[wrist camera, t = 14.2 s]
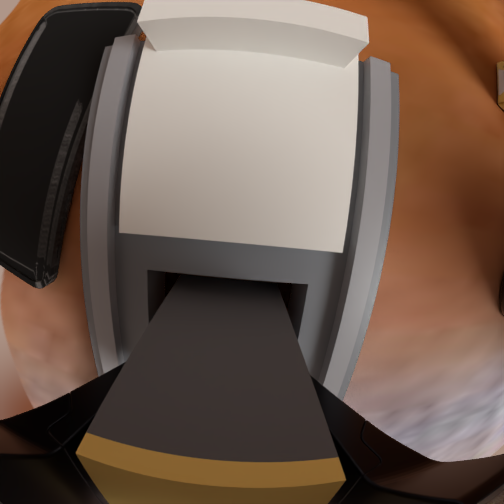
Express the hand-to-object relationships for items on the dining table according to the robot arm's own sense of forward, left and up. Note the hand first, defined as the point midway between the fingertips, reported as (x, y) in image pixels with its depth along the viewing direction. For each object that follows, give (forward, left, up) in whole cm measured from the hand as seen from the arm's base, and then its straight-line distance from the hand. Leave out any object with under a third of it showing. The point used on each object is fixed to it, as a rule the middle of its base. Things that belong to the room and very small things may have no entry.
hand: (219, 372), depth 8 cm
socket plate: (+2, 0, -4) cm, 4 cm away
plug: (0, 0, -4) cm, 4 cm away
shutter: (+8, 0, -1) cm, 8 cm away
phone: (+8, +11, -5) cm, 14 cm away
